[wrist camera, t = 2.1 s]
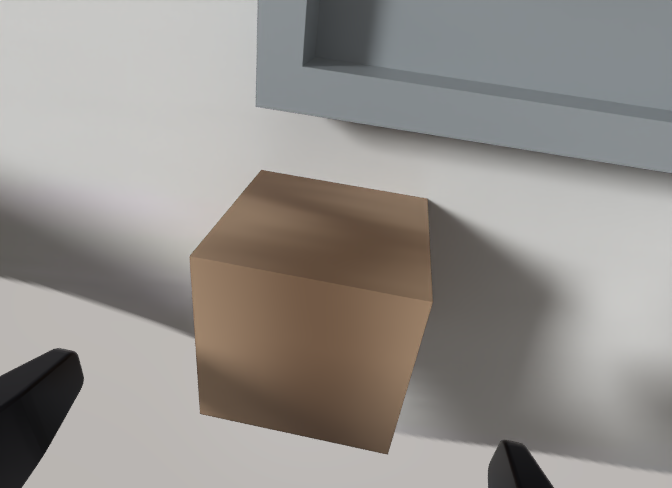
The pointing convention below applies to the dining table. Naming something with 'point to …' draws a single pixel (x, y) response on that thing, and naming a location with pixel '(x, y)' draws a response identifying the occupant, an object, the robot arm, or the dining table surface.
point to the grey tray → (480, 71)
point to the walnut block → (312, 308)
